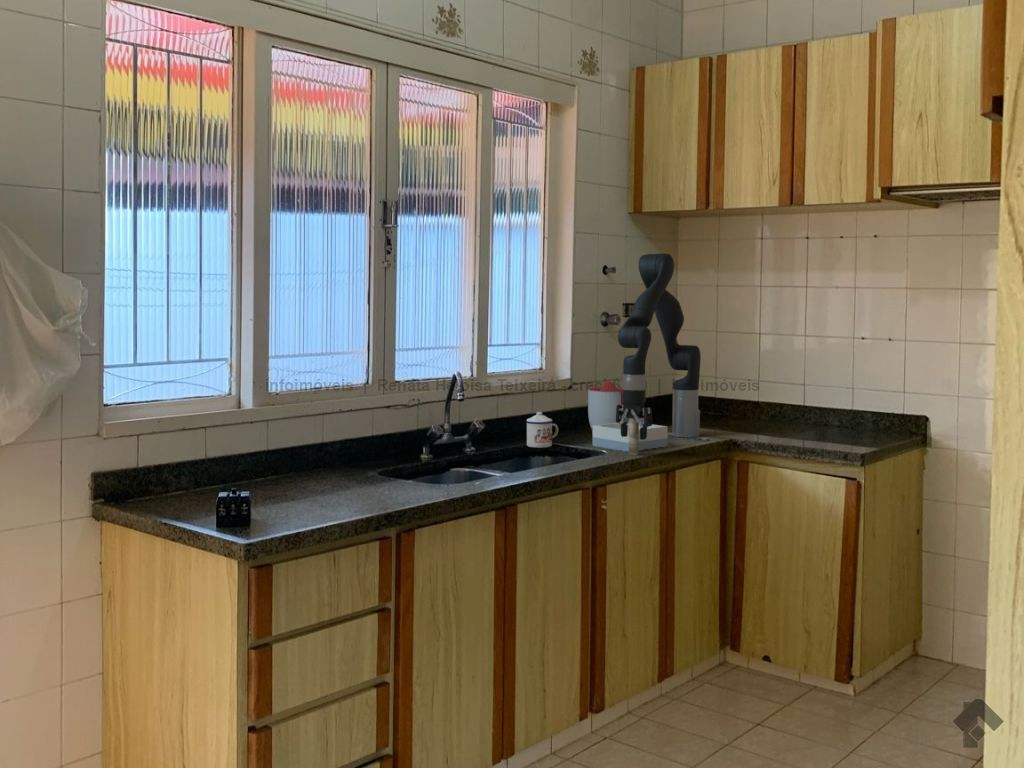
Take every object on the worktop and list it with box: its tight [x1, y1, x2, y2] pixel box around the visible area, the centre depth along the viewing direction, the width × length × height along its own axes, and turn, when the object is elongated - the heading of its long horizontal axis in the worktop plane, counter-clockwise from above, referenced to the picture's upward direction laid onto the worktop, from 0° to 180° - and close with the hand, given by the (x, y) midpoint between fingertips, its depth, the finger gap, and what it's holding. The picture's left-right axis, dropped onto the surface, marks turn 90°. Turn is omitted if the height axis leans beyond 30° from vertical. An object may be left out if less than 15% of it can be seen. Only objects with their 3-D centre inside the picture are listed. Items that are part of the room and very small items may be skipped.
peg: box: [628, 418, 640, 456], centre depth 336 cm, size 3×3×12 cm
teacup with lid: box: [525, 411, 559, 449], centre depth 357 cm, size 12×9×12 cm
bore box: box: [592, 422, 669, 453], centre depth 355 cm, size 18×18×7 cm
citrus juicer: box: [587, 380, 624, 433], centre depth 384 cm, size 16×17×20 cm
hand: (633, 438), depth 336 cm, fingers open, 8 cm apart
